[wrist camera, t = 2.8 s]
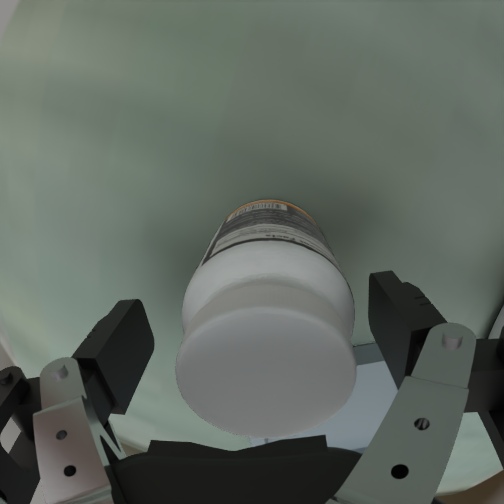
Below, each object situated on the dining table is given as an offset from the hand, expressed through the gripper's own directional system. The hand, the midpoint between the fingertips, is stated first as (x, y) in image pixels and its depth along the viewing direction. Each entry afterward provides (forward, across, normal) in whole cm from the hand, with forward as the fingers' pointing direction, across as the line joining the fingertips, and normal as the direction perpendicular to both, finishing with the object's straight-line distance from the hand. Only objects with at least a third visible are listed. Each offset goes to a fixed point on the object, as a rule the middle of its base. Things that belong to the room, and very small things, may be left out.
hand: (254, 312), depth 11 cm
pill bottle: (+7, 0, 0) cm, 7 cm away
